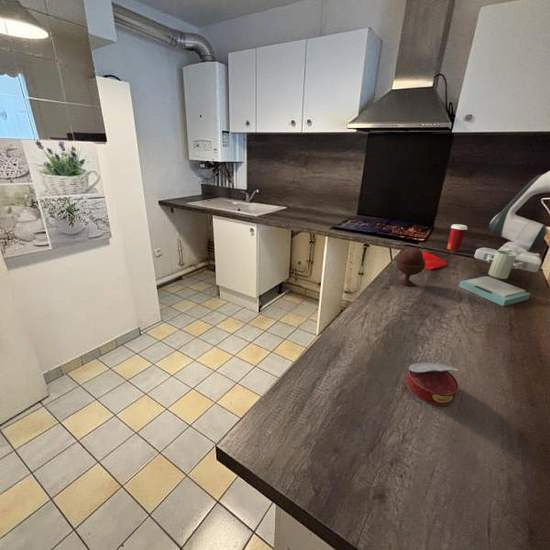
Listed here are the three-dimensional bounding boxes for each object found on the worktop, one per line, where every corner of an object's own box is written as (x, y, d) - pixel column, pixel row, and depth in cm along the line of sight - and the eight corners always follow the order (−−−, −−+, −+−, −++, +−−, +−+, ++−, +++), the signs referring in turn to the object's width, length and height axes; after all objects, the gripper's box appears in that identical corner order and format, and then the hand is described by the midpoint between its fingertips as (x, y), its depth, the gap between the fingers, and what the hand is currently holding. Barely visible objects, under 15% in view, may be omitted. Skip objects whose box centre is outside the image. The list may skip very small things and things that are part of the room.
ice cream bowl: (421, 281, 120) (430, 247, 114) (418, 291, 111) (427, 254, 105) (394, 275, 125) (401, 242, 119) (389, 285, 116) (397, 249, 110)
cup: (511, 277, 108) (520, 254, 104) (501, 279, 106) (510, 256, 102) (494, 271, 113) (502, 249, 110) (484, 273, 111) (492, 251, 107)
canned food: (408, 409, 65) (393, 373, 63) (417, 379, 73) (404, 345, 71) (466, 416, 58) (451, 375, 56) (470, 382, 65) (457, 344, 63)
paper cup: (463, 251, 160) (471, 226, 154) (455, 253, 156) (463, 227, 151) (449, 247, 166) (456, 223, 160) (441, 249, 162) (448, 224, 157)
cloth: (445, 273, 129) (447, 268, 128) (412, 266, 136) (413, 262, 135) (448, 257, 150) (449, 253, 149) (419, 252, 156) (420, 248, 155)
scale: (528, 299, 108) (531, 291, 107) (503, 306, 102) (506, 298, 101) (482, 281, 122) (485, 274, 121) (458, 286, 117) (460, 279, 115)
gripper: (482, 242, 121) (472, 248, 112) (545, 255, 108) (540, 263, 99) (477, 256, 124) (467, 263, 115) (538, 270, 111) (533, 280, 102)
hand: (502, 263), depth 107 cm, fingers closed on cup, 6 cm apart
